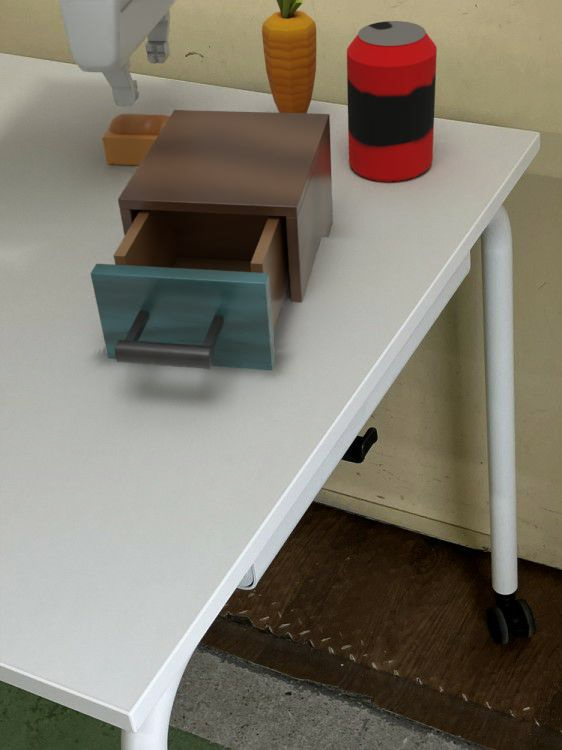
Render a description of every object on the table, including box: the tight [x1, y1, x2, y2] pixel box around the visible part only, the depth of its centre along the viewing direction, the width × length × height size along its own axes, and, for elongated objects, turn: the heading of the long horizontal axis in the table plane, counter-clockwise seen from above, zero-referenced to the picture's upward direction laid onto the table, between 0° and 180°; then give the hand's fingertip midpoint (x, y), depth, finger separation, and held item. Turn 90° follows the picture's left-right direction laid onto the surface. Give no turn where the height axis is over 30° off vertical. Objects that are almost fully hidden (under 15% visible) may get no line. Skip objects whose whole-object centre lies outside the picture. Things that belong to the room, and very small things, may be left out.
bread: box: [101, 113, 171, 166], centre depth 95 cm, size 7×4×4 cm, turn 79°
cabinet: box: [117, 109, 334, 303], centre depth 77 cm, size 15×13×10 cm
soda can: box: [346, 20, 438, 183], centre depth 88 cm, size 8×8×12 cm
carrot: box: [261, 0, 317, 113], centre depth 93 cm, size 5×5×15 cm
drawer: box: [90, 210, 290, 371], centre depth 69 cm, size 18×11×8 cm, turn 169°
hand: (144, 81), depth 91 cm, fingers open, 8 cm apart
